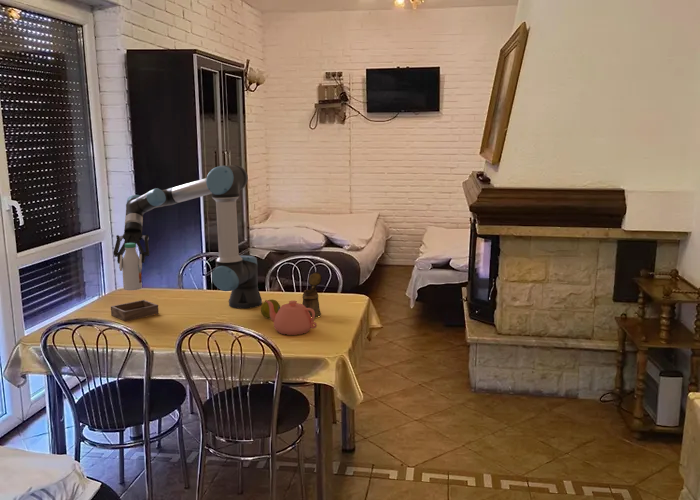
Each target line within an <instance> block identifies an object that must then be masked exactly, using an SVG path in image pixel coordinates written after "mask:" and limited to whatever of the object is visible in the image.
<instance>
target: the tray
mask: <svg viewBox="0 0 700 500" xmlns="http://www.w3.org/2000/svg"><path fill="white" fill-rule="evenodd" d="M110 314H111V316H112V317H114V318H116V319H119V320H122V321H123V322H127V321H131V320H138V319H140V318H145V317H146V316H147V317H150V315H151V316H155V315H154V314H156V315H158V314H159V305H158V304H157V303H153V302H151V301H148V300H147V299H146V300H145V299H141V300H136V301H131V302H127V303H121V304H120V303H119V304H116V305H111V306H110ZM159 315H160V314H159Z"/></svg>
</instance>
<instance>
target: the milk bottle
mask: <svg viewBox="0 0 700 500" xmlns="http://www.w3.org/2000/svg"><path fill="white" fill-rule="evenodd" d="M125 249H126V250H125V252H124V254H123V261H122V285H123V290H125V291H137V290H141V289H142V288H143V279H142V278H143V277H142V276H143V275H142V270H140V269H139V259H140V255H138V252H137V251H136V249H137V244H136V243H126V244H125Z"/></svg>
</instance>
